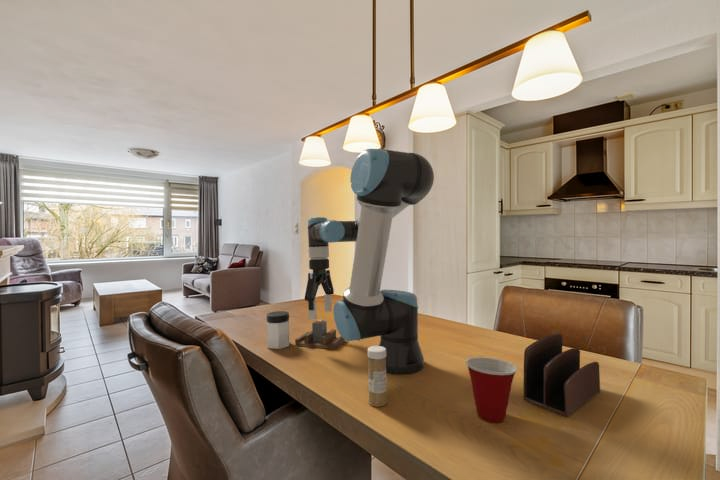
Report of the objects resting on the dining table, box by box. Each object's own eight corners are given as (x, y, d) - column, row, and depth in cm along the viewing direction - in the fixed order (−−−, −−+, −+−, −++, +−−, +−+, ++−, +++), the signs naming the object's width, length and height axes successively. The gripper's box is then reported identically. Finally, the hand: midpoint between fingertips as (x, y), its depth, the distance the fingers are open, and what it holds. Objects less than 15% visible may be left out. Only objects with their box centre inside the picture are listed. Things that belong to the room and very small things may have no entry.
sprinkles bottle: (367, 398, 85) (366, 345, 84) (385, 397, 85) (384, 344, 85) (369, 408, 80) (368, 351, 80) (388, 407, 80) (387, 351, 80)
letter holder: (522, 401, 82) (522, 344, 82) (559, 379, 94) (558, 329, 94) (567, 419, 74) (567, 355, 74) (600, 392, 86) (600, 337, 86)
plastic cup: (524, 414, 76) (524, 361, 76) (508, 436, 68) (507, 377, 68) (477, 398, 84) (477, 350, 83) (457, 417, 76) (457, 364, 75)
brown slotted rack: (345, 340, 130) (344, 330, 130) (334, 349, 121) (334, 338, 121) (307, 337, 136) (307, 327, 135) (295, 345, 126) (295, 334, 126)
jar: (273, 351, 120) (272, 317, 120) (262, 345, 126) (261, 313, 126) (294, 345, 126) (294, 313, 126) (283, 340, 132) (282, 309, 132)
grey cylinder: (326, 339, 130) (326, 319, 129) (322, 342, 126) (321, 322, 126) (317, 338, 131) (317, 318, 131) (312, 341, 127) (312, 321, 127)
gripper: (324, 257, 141) (325, 308, 140) (293, 260, 117) (295, 322, 117) (340, 256, 138) (342, 308, 138) (312, 260, 114) (314, 323, 114)
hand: (320, 314), depth 127 cm, fingers open, 13 cm apart
